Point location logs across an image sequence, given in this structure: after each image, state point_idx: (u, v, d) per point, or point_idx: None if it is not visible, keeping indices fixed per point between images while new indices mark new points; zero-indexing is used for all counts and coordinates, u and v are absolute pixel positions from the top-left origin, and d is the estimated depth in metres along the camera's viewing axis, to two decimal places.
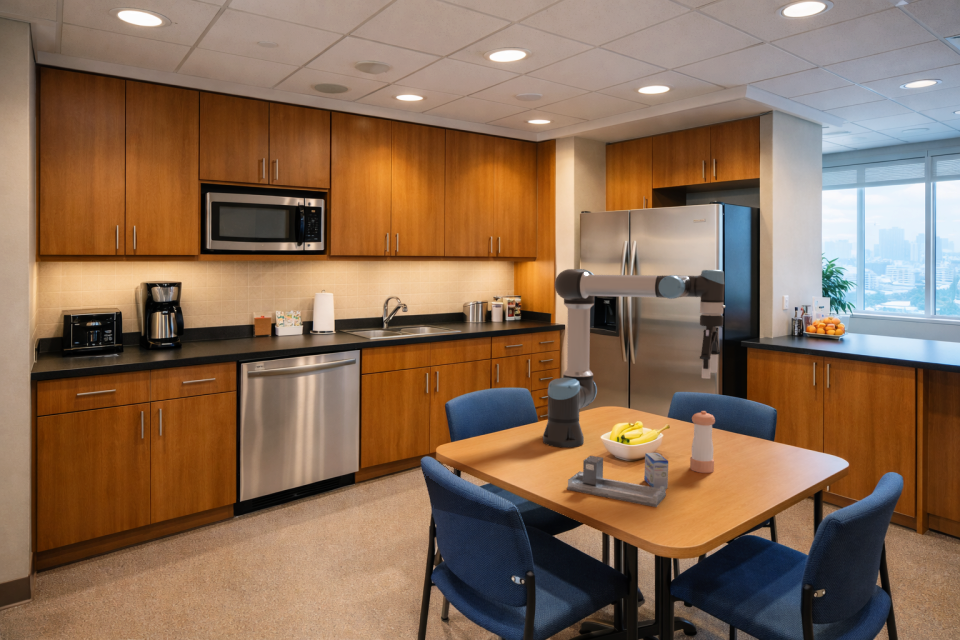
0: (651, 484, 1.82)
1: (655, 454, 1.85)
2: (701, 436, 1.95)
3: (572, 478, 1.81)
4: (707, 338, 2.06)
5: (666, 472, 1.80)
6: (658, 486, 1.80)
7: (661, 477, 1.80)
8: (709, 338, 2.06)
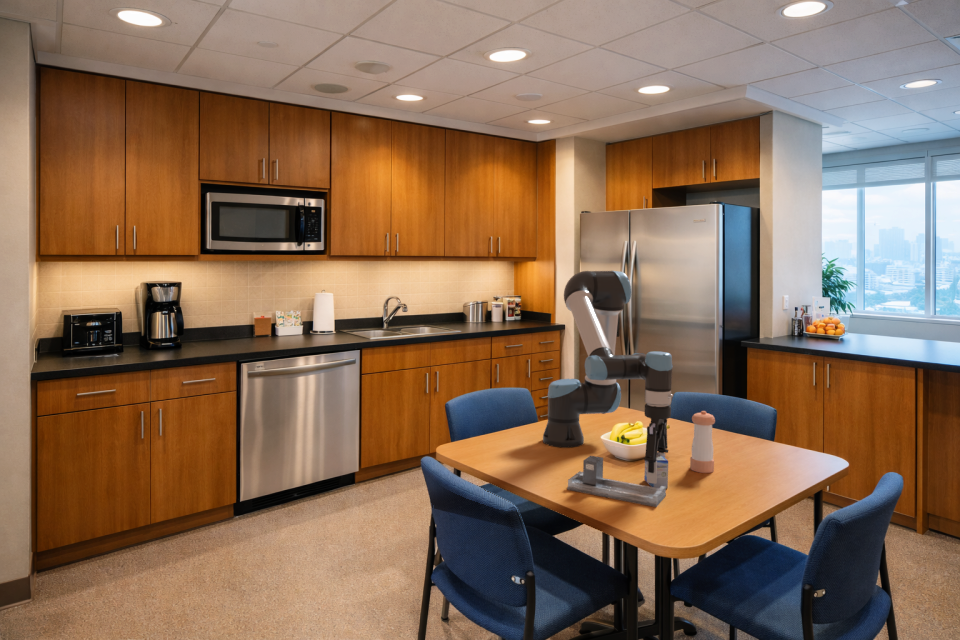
0: (651, 484, 1.81)
1: None
2: (701, 436, 1.95)
3: (572, 478, 1.81)
4: (651, 437, 1.77)
5: (666, 472, 1.80)
6: (658, 486, 1.80)
7: (661, 477, 1.80)
8: (653, 437, 1.77)
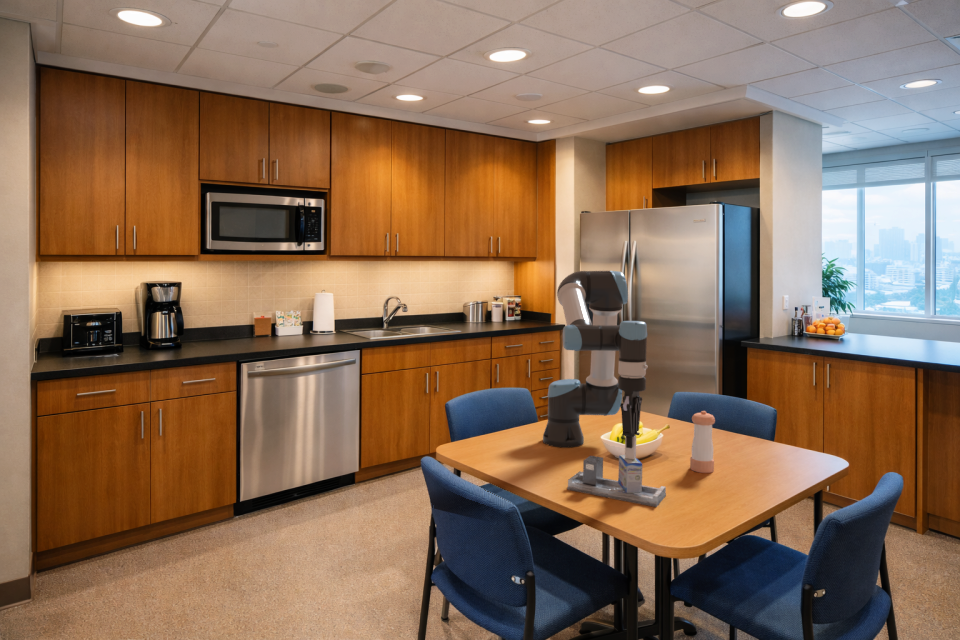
0: (624, 488, 1.72)
1: None
2: (701, 436, 1.95)
3: (572, 478, 1.81)
4: (626, 414, 1.69)
5: (640, 475, 1.71)
6: (632, 490, 1.71)
7: (635, 480, 1.71)
8: (628, 414, 1.68)
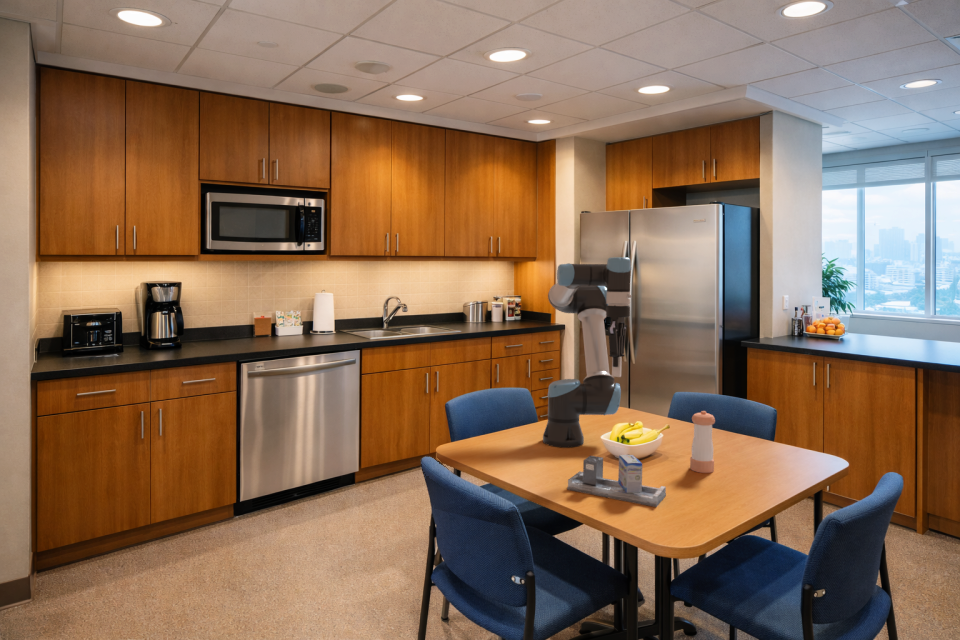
0: (624, 488, 1.72)
1: (629, 456, 1.76)
2: (701, 436, 1.95)
3: (572, 478, 1.81)
4: (612, 336, 1.96)
5: (640, 475, 1.71)
6: (632, 490, 1.71)
7: (635, 480, 1.71)
8: (614, 336, 1.96)
